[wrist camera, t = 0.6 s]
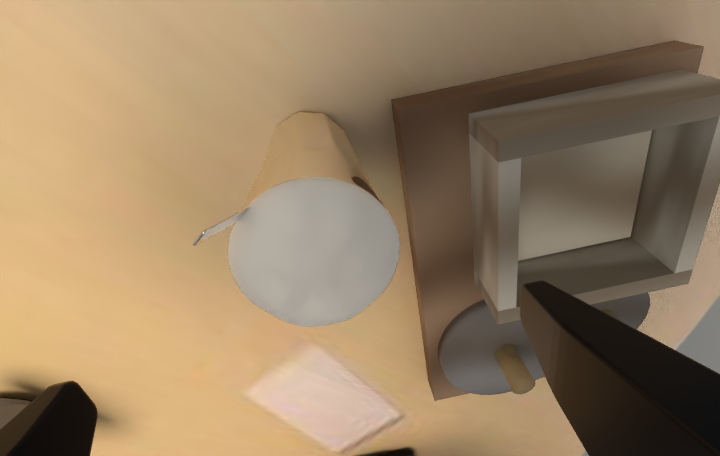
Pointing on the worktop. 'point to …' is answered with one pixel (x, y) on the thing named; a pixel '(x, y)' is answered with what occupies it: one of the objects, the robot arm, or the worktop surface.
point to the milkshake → (311, 229)
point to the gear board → (553, 200)
